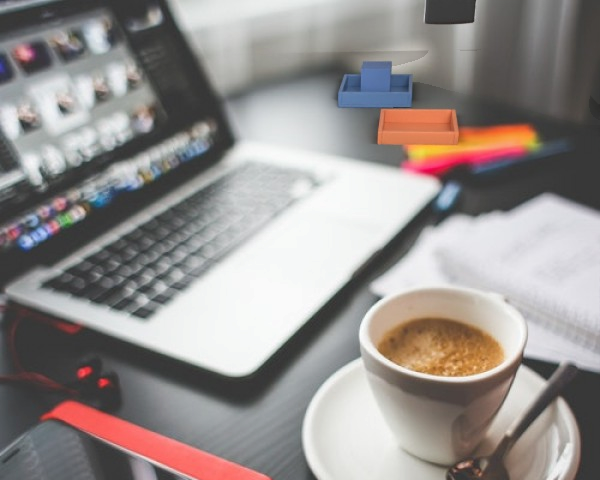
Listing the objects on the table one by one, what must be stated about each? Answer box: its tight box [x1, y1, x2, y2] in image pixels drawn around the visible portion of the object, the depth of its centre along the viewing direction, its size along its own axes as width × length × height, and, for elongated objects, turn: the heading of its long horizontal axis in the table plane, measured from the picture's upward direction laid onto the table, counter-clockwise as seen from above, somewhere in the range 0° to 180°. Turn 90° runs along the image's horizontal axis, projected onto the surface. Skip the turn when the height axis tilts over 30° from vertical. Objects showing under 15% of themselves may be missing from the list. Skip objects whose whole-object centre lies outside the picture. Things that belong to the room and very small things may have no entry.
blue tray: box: [337, 73, 413, 109], centre depth 109 cm, size 12×11×2 cm
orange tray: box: [377, 108, 460, 146], centre depth 93 cm, size 11×10×2 cm
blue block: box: [360, 60, 393, 92], centre depth 108 cm, size 5×5×5 cm
